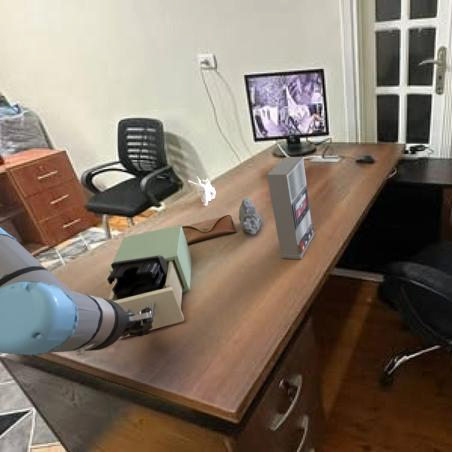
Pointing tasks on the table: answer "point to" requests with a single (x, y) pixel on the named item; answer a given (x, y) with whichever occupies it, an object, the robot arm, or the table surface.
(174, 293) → the drawer
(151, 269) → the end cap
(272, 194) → the cassette tape recorder
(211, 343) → the table surface
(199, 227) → the sunglasses case
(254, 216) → the mineral rock
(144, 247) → the cabinet
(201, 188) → the white figurine
